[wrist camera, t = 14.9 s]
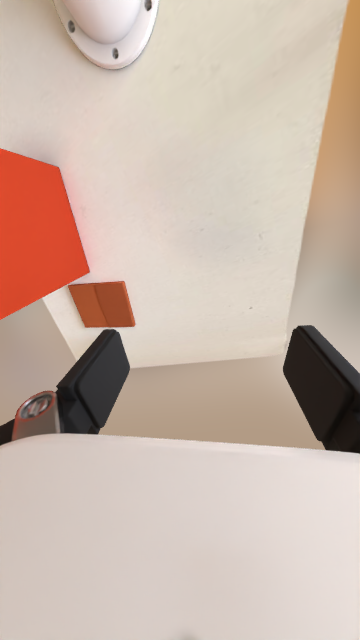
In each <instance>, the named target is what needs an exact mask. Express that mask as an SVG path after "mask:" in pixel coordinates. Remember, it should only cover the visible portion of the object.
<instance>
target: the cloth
mask: <svg viewBox="0 0 360 640" xmlns="http://www.w3.org/2000/svg"><path fill="white" fill-rule="evenodd" d="M68 288H69V290H70V293H71V295H72V297H73V300H74V302H75V304H76V307H77V309H78V311H79V314H80V316H81V318H82V321H83V323H84V325H85V327H86V328H88V327H134V326H135V321H134V317H133V313H132V309H131V306H130V302H129V298H128V294H127V290H126V286H125V283H124V281H121V282H106V283H91V284H75V285H69V286H68Z"/></svg>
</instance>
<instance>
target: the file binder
mask: <svg viewBox="0 0 360 640" xmlns="http://www.w3.org/2000/svg"><path fill="white" fill-rule="evenodd" d="M87 273H89V268H88V265H87V261H86V258H85V255H84V251H83V248H82V244H81V241H80V238H79V234H78V231H77V228H76V224H75V221H74V217H73V214H72V211H71V207H70V204H69V200H68V197H67V194H66V190H65V187H64V184H63V180H62V177H61V173H60V170H59V167H56V166H53V165H50V164H47V163H43V162H40V161H37V160H34V159H31V158H28V157H25V156H22V155H19V154H16V153H13V152H10V151H7V150H4V149H0V320H1V319H3V318H4V317H6V316H8V315H10V314H12V313H14V312H15V311H17V310H19V309H21V308H23V307H25V306H27V305H29V304H31V303H33V302H35V301H36V300H38V299H40V298H42V297H44V296H46V295H48V294H50V293H52V292H53V291H55V290H57V289H59V288H61V287H63V286H65V285H67V284H69V283H70V282H72V281H74V280H76V279H78V278H80V277H82V276H84V275H85V274H87Z"/></svg>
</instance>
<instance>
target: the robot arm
mask: <svg viewBox="0 0 360 640" xmlns="http://www.w3.org/2000/svg"><path fill="white" fill-rule="evenodd" d="M53 2H54V5H55V8H56V11H57V13H58V15H59V18H60V20H61V22H62V24H63V26H64V28H65V30H66V31H67V33H68V35H69V37H70V38H71V40H72V41H73V42H74V44H75V45H76V46H77V48H78V49H79V50H80V51H81V52H82V53H83V54H84V56H85V57H86V58H88V59H89V60H90V61H91V62H93V63H94V64H96V65H98V66H100V67H102V68H105V69H112V70H114V69H120V68H123V67H125V66H127V65H129V64H131V63H132V62H133V61H134V60H135V59H136V58H137V57H138V56H139V55H140V53H141V52H142V51H143V49H144V48H145V46H146V44H147V42H148V40H149V38H150V35H151V32H152V29H153V26H154V23H155V19H156V14H157V8H158V2H159V0H53ZM149 9H151V10H150V11H148V10H149ZM117 56H118V58H117V59H116V57H117ZM129 370H130V366H129V362H128V359H127V356H126V353H125V350H124V347H123V344H122V340H121V337H120V334H119V332H116V330H114V329H106V330H103V331H102V333H101V334H100V335H99V336H98V337H97V339H96V340H95V341H94V342H93V343H92V344H91V346H90V347H89V348H88V349H87V350H86V352H85V353H84V354H83V355H82V356H81V358H80V359H79V360H78V361H77V362H76V363H75V365H74V366H73V367H72V368H71V369H70V371H69V372H68V373H67V374H66V376H65V377H64V378H63V379H62V380H61V381H60V382H59V384H58V385H57V386H56V387H57V388H58V390H57V391H56V392H53V391H43V392H41V393H38V394H36V395H34V396H32V397H30V398H29V399H28V400H26V401H25V402H24V403H23V404H22V405H21V406H20V408H19V409H18V410H17V413H16V415H15V419H13V420H11V421H9V422H7V423H6V424H4V425H2V426H0V640H360V373H358V371H357V370H356V369H355V368H354V367H353V366H352V365H351V364H350V363H349V362H348V361H347V360H346V359H345V358H344V357H343V356H342V355H341V354H340V353H339V352H338V351H337V350H336V349H335V348H334V347H333V346H332V345H331V344H330V343H329V342H328V341H327V340H326V339H325V338H324V337H323V336H322V335H321V334H320V332H319V331H318V330H317V329H316V328H315V327H314V326H311V325H307V326H298V327H297V328H296V329H294V330H293V332H292V336H291V340H290V343H289V347H288V351H287V355H286V359H285V362H284V366H283V372H284V375H285V377H286V379H287V381H288V383H289V385H290V387H291V389H292V391H293V393H294V395H295V397H296V399H297V401H298V403H299V405H300V407H301V409H302V411H303V413H304V415H305V417H306V419H307V421H308V423H309V425H310V427H311V429H312V431H313V433H314V435H315V436H316V438H317V440H318V441H322V443H323V445H324V447H325V449H326V450H316V449H304V448H291V447H277V446H276V447H275V446H262V445H249V444H234V443H220V442H204V441H191V440H176V439H161V438H145V437H128V436H113V435H112V436H111V435H98V433H99V431H100V428H102V427H104V425H105V423H106V421H107V419H108V417H109V415H110V412H111V410H112V408H113V406H114V404H115V402H116V399H117V397H118V395H119V393H120V391H121V389H122V386H123V384H124V382H125V380H126V378H127V375H128V373H129ZM327 450H328V451H327ZM338 451H340V452H338Z"/></svg>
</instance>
